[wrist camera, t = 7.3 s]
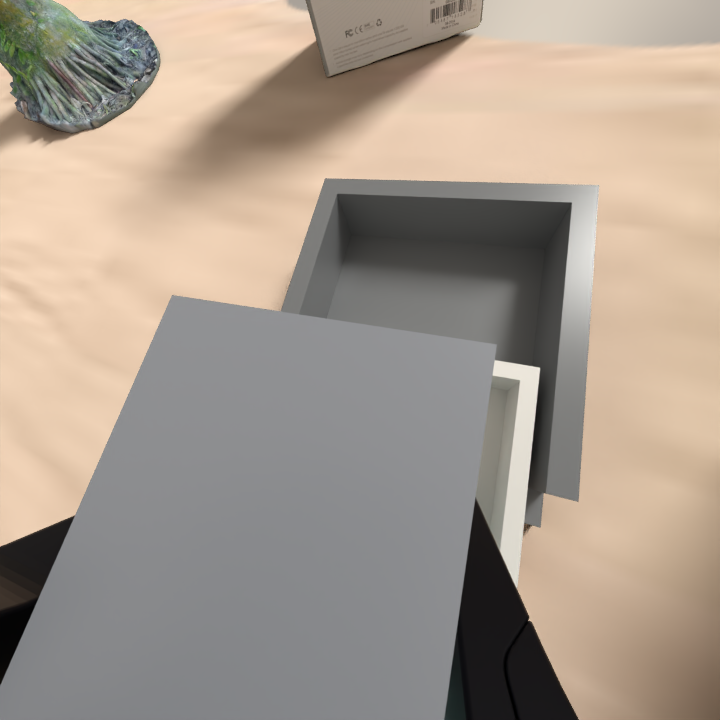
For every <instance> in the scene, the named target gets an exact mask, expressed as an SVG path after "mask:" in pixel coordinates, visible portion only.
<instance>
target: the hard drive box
mask: <svg viewBox="0 0 720 720" xmlns="http://www.w3.org/2000/svg"><path fill="white" fill-rule="evenodd" d="M306 3H307V7H308V11H309V14H310V18H311V22H312V25H313V29H314V33H315V36H316V40H317V44H318V47H319V51H320V54H321V58H322V62H323V66H324V70H325V74H326V76H327V77H330V76H333V75H335V74H338V73H341V72H344V71H347V70H351V69H355V68H358V67H362V66H365V65H368V64H370V63H372V62H374V61H377V60H380V59H383V58H386V57H389V56H392V55H395V54H398V53H401V52H404V51H407V50H410V49H413V48H416V47H419V46H422V45H425V44H428V43H434V42H437V41H440V40H443V39H446V38H448V37H450V36H453V35H455V34H458V33H461V32H464V31H466V30H469V29H473V28H476V27H478V26H479V25H480V22H481V20H482V10H483V0H306Z"/></svg>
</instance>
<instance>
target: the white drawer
mask: <svg viewBox="0 0 720 720" xmlns="http://www.w3.org/2000/svg"><path fill="white" fill-rule="evenodd" d="M539 374H540V368H539V367H533V366H527V365H521V364H515V363H509V362H503V361H497V360H495V362H494V369H493V376H492V383H491V390H490V397H489V404H488V411H487V418H486V426H485V433H484V440H483V447H482V454H481V461H480V468H479V475H478V482H477V490H476V499H477V501H478V503H479V505H480V508H481V510H482V512H483V514H484V517H485V519H486V521H487V523H488V525H489V528H490V530H491V532H492V534H493V537H494V539H495V541H496V543H497V546H498V548H499V550H500V552H501V555H502V557H503V559H504V561H505V564H506V566H507V568H508V570H509V573H510V575H511V577H512V579H513V581H514V584H515V586H516V588H517V586H518V576H519V567H520V557H521V547H522V538H523V528H524V519H525V509H526V499H527V490H528V480H529V470H530V461H531V451H532V442H533V432H534V422H535V413H536V403H537V393H538V384H539Z"/></svg>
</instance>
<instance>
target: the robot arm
mask: <svg viewBox="0 0 720 720" xmlns="http://www.w3.org/2000/svg"><path fill="white" fill-rule="evenodd" d="M74 517H75V516H73V517H70V518H68V519H65V520H63V521H61V522H58V523H56V524H53V525H51V526H49V527H46V528H44V529H42V530H39V531H37V532H34V533H32V534H30V535H27V536H25V537H23V538H20V539H18V540H15V541H13V542H11V543H8V544H6V545H3V546H1V547H0V685H1V683H2V681H3V678H4V676H5V674H6V671H7V669H8V667H9V665H10V662H11V660H12V658H13V656H14V653H15V651H16V649H17V647H18V644H19V642H20V640H21V637H22V635H23V633H24V631H25V628H26V626H27V624H28V622H29V619H30V617H31V615H32V612H33V610H34V608H35V606H36V603H37V601H38V599H39V597H40V594H41V592H42V590H43V587H44V585H45V583H46V581H47V578H48V576H49V574H50V572H51V569H52V567H53V565H54V562H55V560H56V558H57V556H58V553H59V551H60V549H61V547H62V544H63V542H64V540H65V537H66V535H67V533H68V531H69V528H70V526H71V524H72V522H73V519H74ZM528 620H529V615H528V613H527V611H526V608H525V606H524V604H523V602H522V599H521V597H520V595H519V593H518V590H517V588H516V586H515V584H514V581H513V579H512V577H511V575H510V573H509V570H508V568H507V566H506V564H505V561H504V559H503V557H502V555H501V552H500V550H499V548H498V546H497V543H496V541H495V539H494V537H493V534H492V532H491V530H490V528H489V525H488V523H487V521H486V519H485V517H484V514H483V512H482V510H481V508H480V505H479V503H478V501H477V499H476V497H475V504H474V511H473V518H472V525H471V532H470V539H469V546H468V554H467V561H466V568H465V575H464V582H463V589H462V596H461V603H460V610H459V618H458V625H457V632H456V639H455V646H454V653H453V660H452V667H451V674H450V682H449V689H448V696H447V703H446V710H445V717H444V720H579V719H578V717H577V715H576V713H575V711H574V709H573V708H572V706H571V704H570V702H569V700H568V698H567V696H566V694H565V692H564V690H563V688H562V686H561V684H560V682H559V680H558V678H557V676H556V674H555V672H554V669H553V667H552V665H551V663H550V661H549V659H548V657H547V655H546V653H545V650H544V648H543V646H542V644H541V642H540V639H539V637H538V635H537V633H536V630H535V628H534V626H533V624H532V622H531V621H528ZM527 621H528V622H527Z"/></svg>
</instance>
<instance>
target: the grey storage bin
mask: <svg viewBox="0 0 720 720" xmlns="http://www.w3.org/2000/svg"><path fill="white" fill-rule="evenodd" d="M598 192H599V185H568V184H527V183H487V182H447V181H407V180H367V179H327V178H325V181H324V184H323V187H322V190H321V193H320V196H319V199H318V202H317V205H316V208H315V211H314V213H313V216H312V219H311V222H310V225H309V228H308V231H307V234H306V237H305V240H304V243H303V246H302V249H301V252H300V255H299V258H298V261H297V264H296V267H295V270H294V273H293V276H292V279H291V282H290V285H289V288H288V291H287V294H286V297H285V300H284V303H283V306H282V309H281V312H286V313H293V314H300V315H306V316H313V317H319V318H326V319H333V320H339V321H346V322H352V323H359V324H365V325H372V326H379V327H385V328H392V329H398V330H405V331H412V332H418V333H425V334H431V335H438V336H445V337H451V338H458V339H464V340H471V341H477V342H484V343H491V344H497V347H496V354H495V360H497V361H503V362H509V363H515V364H521V365H527V366H533V367H539V368H540V374H539V384H538V393H537V403H536V413H535V422H534V432H533V442H532V451H531V461H530V470H529V480H528V490H527V499H526V509H525V519H524V523H526V524H529V525H533V526H536V527H541V516H542V505H543V494H544V493H546V494H550V495H554V496H558V497H562V498H566V499H569V500H573V501H577V502H578V499H579V484H580V469H581V453H582V438H583V422H584V407H585V392H586V376H587V361H588V346H589V330H590V315H591V300H592V284H593V269H594V254H595V238H596V223H597V208H598Z"/></svg>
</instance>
